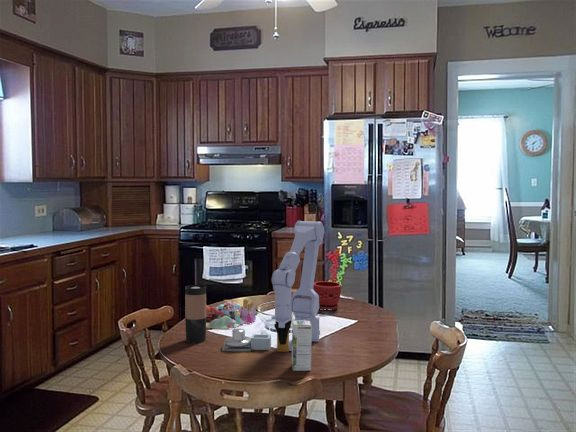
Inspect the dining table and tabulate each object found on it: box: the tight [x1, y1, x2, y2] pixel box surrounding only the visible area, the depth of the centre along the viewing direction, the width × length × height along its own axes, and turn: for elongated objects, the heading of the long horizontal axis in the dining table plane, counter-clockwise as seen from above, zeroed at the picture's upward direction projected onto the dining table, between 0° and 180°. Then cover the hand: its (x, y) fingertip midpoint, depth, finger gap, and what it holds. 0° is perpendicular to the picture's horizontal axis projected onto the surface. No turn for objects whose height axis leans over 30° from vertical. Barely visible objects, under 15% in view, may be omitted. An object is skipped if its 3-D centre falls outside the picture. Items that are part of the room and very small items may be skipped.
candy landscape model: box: [206, 298, 257, 330], centre depth 221 cm, size 25×24×9 cm
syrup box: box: [291, 320, 313, 372], centre depth 164 cm, size 6×6×14 cm
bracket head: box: [250, 330, 272, 351], centre depth 189 cm, size 7×13×4 cm, turn 177°
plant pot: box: [313, 280, 342, 310], centre depth 244 cm, size 13×13×12 cm
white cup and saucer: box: [221, 328, 253, 353], centre depth 186 cm, size 10×10×6 cm
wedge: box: [276, 330, 290, 353], centre depth 182 cm, size 2×4×7 cm, turn 86°
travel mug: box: [184, 284, 207, 344], centre depth 193 cm, size 8×8×20 cm
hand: (283, 342), depth 182 cm, fingers closed on wedge, 2 cm apart
